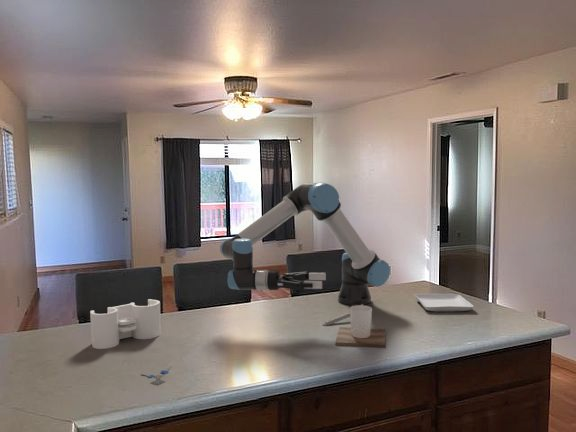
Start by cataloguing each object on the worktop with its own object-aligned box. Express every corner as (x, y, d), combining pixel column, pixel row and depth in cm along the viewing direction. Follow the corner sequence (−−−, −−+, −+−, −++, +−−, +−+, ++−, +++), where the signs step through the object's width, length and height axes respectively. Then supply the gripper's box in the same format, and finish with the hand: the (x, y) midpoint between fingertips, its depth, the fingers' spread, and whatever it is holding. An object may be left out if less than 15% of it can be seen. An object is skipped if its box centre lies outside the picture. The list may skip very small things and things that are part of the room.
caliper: (364, 318, 201) (364, 303, 200) (365, 318, 200) (366, 303, 199) (322, 325, 191) (322, 310, 191) (323, 326, 190) (323, 310, 190)
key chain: (164, 386, 138) (164, 383, 138) (134, 387, 137) (134, 385, 137) (172, 367, 152) (172, 364, 152) (145, 368, 151) (145, 365, 151)
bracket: (98, 351, 165) (96, 316, 164) (88, 344, 173) (86, 310, 171) (165, 334, 182) (164, 303, 181) (154, 328, 189) (153, 298, 188)
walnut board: (339, 329, 186) (339, 326, 186) (384, 331, 182) (384, 329, 182) (335, 344, 169) (335, 342, 169) (385, 347, 166) (385, 344, 166)
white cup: (358, 340, 170) (358, 312, 169) (345, 333, 177) (345, 307, 176) (376, 336, 174) (376, 309, 173) (363, 330, 181) (363, 304, 180)
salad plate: (475, 313, 206) (475, 305, 205) (424, 314, 206) (424, 306, 206) (458, 300, 227) (458, 293, 226) (412, 301, 227) (412, 293, 227)
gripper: (275, 282, 198) (327, 282, 195) (261, 298, 174) (320, 299, 170) (274, 263, 197) (326, 264, 194) (260, 277, 173) (320, 278, 169)
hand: (324, 280), depth 182 cm, fingers open, 13 cm apart
